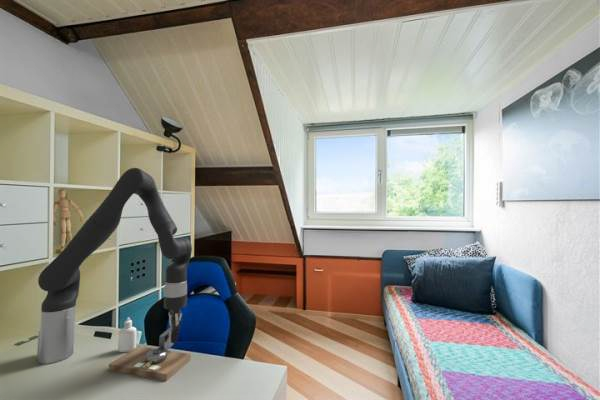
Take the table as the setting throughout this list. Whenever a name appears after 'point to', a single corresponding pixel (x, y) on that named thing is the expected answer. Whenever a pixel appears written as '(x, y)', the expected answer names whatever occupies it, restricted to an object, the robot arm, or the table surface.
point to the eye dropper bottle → (127, 337)
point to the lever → (159, 349)
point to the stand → (162, 370)
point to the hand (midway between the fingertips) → (174, 341)
